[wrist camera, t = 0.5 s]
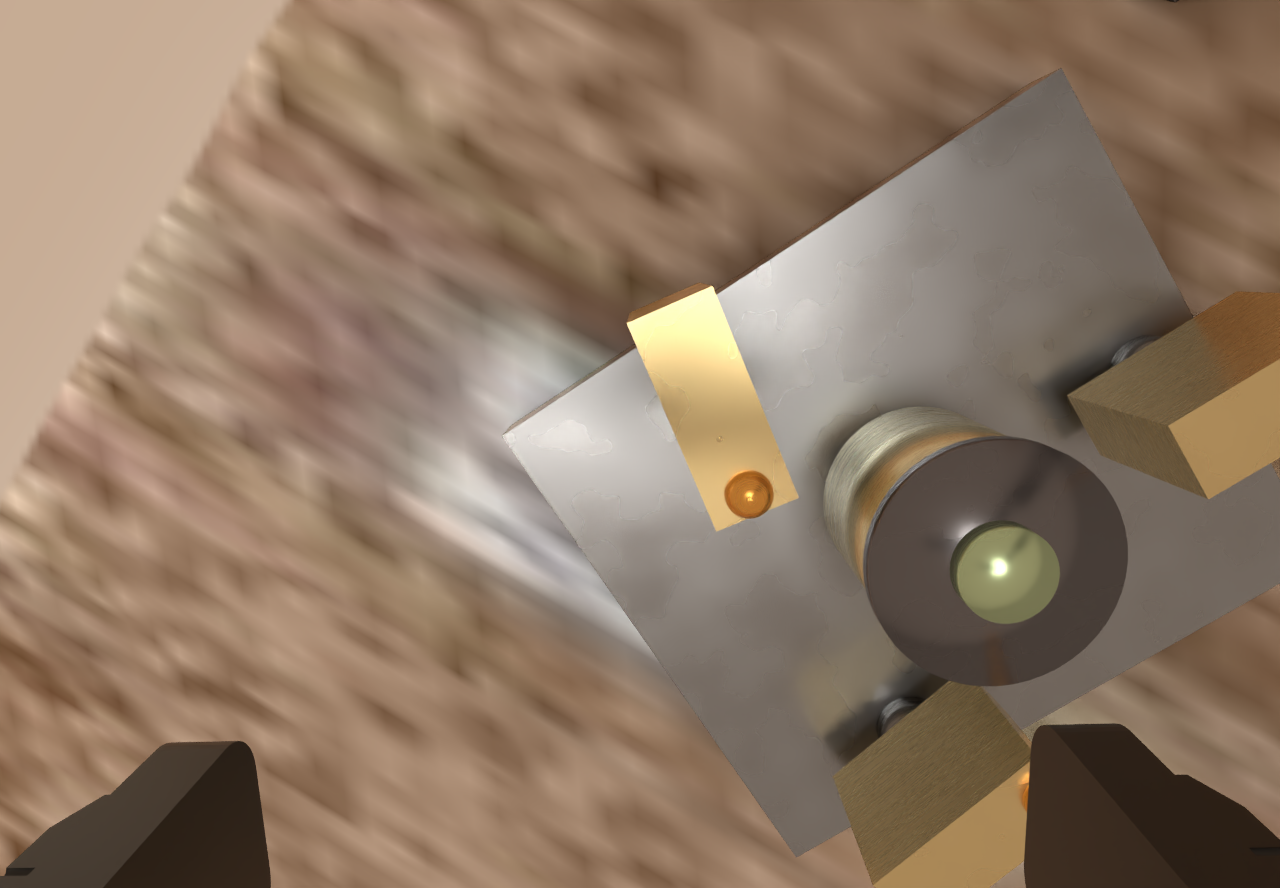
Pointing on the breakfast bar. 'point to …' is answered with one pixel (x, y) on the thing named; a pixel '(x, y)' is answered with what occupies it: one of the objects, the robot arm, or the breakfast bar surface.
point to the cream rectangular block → (940, 792)
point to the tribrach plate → (853, 345)
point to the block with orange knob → (1193, 398)
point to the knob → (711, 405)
